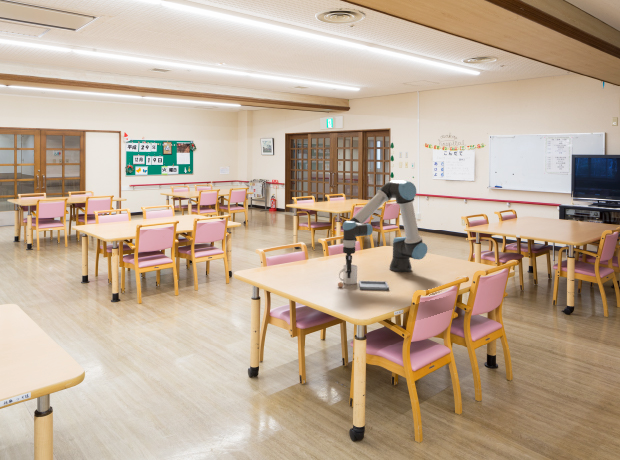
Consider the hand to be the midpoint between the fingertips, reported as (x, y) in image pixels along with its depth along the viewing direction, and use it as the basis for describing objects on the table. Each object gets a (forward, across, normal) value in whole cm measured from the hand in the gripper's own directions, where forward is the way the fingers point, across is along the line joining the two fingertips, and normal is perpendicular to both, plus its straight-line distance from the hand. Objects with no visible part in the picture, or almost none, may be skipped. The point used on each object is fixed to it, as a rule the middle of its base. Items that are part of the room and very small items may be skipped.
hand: (348, 280), depth 303 cm
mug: (+2, 0, 0) cm, 2 cm away
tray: (+2, +8, +15) cm, 17 cm away
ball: (+2, +11, -5) cm, 12 cm away
